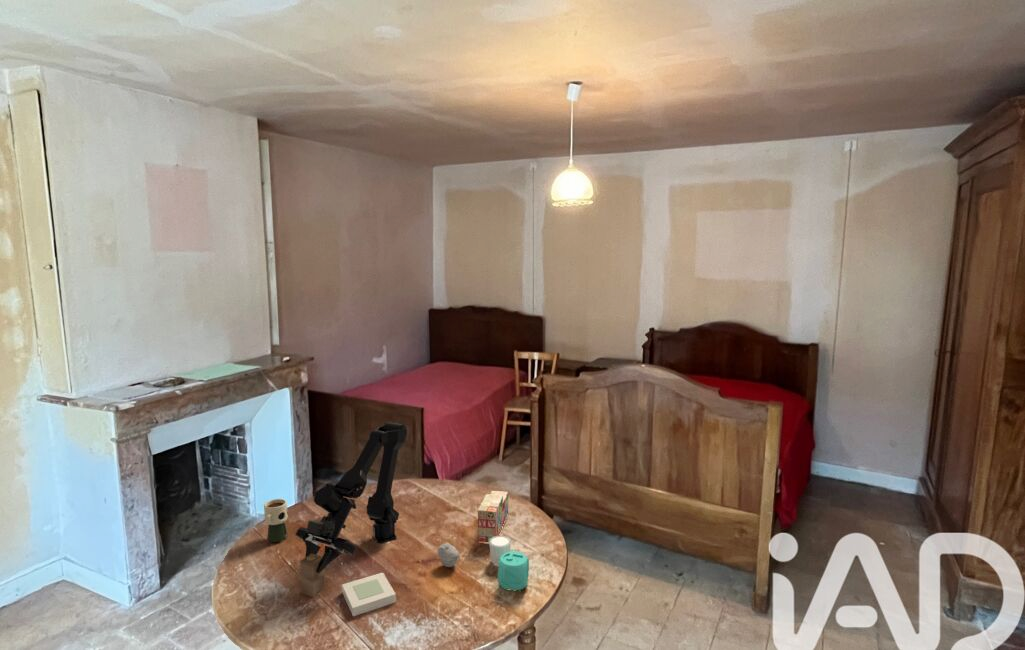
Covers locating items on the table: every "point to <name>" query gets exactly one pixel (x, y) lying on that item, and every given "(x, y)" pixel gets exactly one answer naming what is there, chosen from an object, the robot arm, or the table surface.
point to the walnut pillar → (312, 575)
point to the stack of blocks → (492, 515)
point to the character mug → (276, 519)
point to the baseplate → (368, 594)
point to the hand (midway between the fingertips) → (311, 570)
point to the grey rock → (448, 554)
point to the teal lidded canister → (513, 570)
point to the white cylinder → (499, 547)
